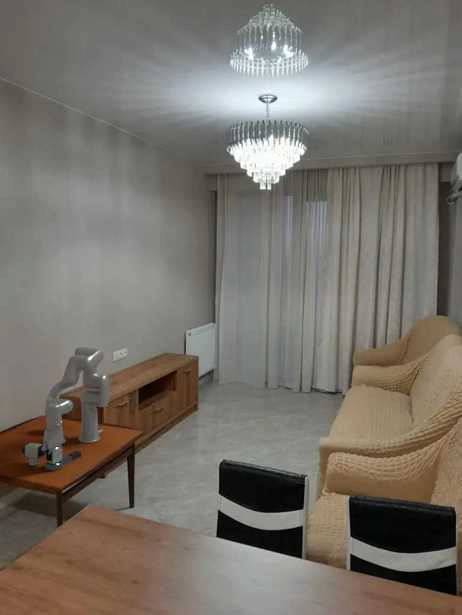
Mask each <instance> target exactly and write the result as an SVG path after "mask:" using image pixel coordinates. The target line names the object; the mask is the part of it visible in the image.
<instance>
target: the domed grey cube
mask: <svg viewBox="0 0 462 615" xmlns="http://www.w3.org/2000/svg"><path fill="white" fill-rule="evenodd" d="M48 451H49V449H48ZM50 454H51V461H48V460H46V453H45V455H44V456H45V462H48V463H51V464H55V463H57V462H59V461H61V460H62V457H63V447H62V448H61V447H60V446H57V447H54V448H52V449H51V453H50Z"/></svg>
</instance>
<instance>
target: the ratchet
mask: <svg viewBox="0 0 462 615" xmlns="http://www.w3.org/2000/svg"><path fill="white" fill-rule="evenodd" d="M81 457H82V451H80V450H76V451H72V452H71V453H68V455H66V456H64V457H63V456H62V460H61V461H59V462H57V463H55V464H51V463H48V462H46V461H45V462H44V470H45V471H46V472H52V473H53V472H56V471H60V470H61V469H63V466H64V465H65V464H66V465H67V464H68V463H70V462H72V461H74V460H77V459H78V458H81Z"/></svg>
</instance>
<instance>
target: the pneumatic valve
mask: <svg viewBox="0 0 462 615" xmlns="http://www.w3.org/2000/svg"><path fill="white" fill-rule="evenodd" d="M42 447H43V443H39V442H38V443H37V442H36V443H35V442H28V443H27V444H25V445H23V447H22V448H21V452H22V454H23V457H24V458H28V465H29V466H36V465H39V464H40V459H41V458H42V457H44V456H45V452H43V451H42V450H41V449H42Z"/></svg>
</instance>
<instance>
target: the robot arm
mask: <svg viewBox="0 0 462 615" xmlns="http://www.w3.org/2000/svg"><path fill="white" fill-rule="evenodd" d="M104 356H105V355H104V351H103V350H102V349H100V348H95V347H94V348H93V347H92V348H91V347H81V346H79V347H76V348H75V350H74V354H73V355H71V356H70V357H69V359H68V361H67V364H66V366H65V370H64V373H63V376H62V379H61V380H60V381H58V382H57V383H56V384H55V385H54V386H53V387H51V389H50V391H49V392H48V395H47V399H46V402H45V409H46V413H45V429H44V432H43V433H44V434H43V441H42V444H43V447H42V449H41V450H42V451H43V452H45V453H46V460H48V461H51V454H50V453H51V449H52V448H54V447H57V446H60V447H61V448H62V449H63V447H64V444H65V443H66V441H67V440H66V439H65V438H64V431H63V426H62V427H61V424H62V425H63V420H62V421H61V415H62V416H63V415H65V414H69V413H70V412H72V410H73V407H74V404H73V402H72V400H70V399H65V398H58V395H59V393H61V392H62V391H63V390H65V389H68V388H71V387H73V386H76V385H77V384H78V382H79V380H80V377H81V373H82V385H83V387H84V388H86V389H85V390H83V391H82V392H81V393H80V395H79V396H80V397H79V401H80V404H81V435H80V436H79V437H78V441H79V443H83V444H93V443H97V442H98V441H100V439H101V436H100V434H101V433H103V431H104V430H103V429H98V426H99V424H98V423H99V421H98V420H99V419H98V416H99V415H98V414H99V410H98V408H97V407H99V408H104V407H107V406H108V405H109V401H110V379H109V378H110V377H109V376H108V375H107V374H103V373H98V365H100V364H101V363H102V361H103V360H104ZM48 449H49V451H48Z"/></svg>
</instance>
